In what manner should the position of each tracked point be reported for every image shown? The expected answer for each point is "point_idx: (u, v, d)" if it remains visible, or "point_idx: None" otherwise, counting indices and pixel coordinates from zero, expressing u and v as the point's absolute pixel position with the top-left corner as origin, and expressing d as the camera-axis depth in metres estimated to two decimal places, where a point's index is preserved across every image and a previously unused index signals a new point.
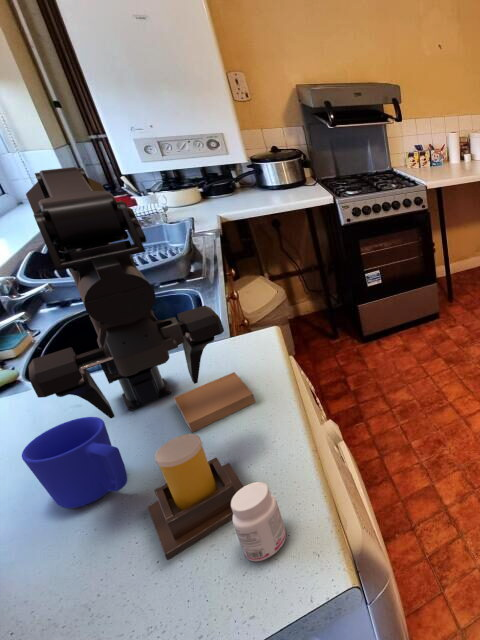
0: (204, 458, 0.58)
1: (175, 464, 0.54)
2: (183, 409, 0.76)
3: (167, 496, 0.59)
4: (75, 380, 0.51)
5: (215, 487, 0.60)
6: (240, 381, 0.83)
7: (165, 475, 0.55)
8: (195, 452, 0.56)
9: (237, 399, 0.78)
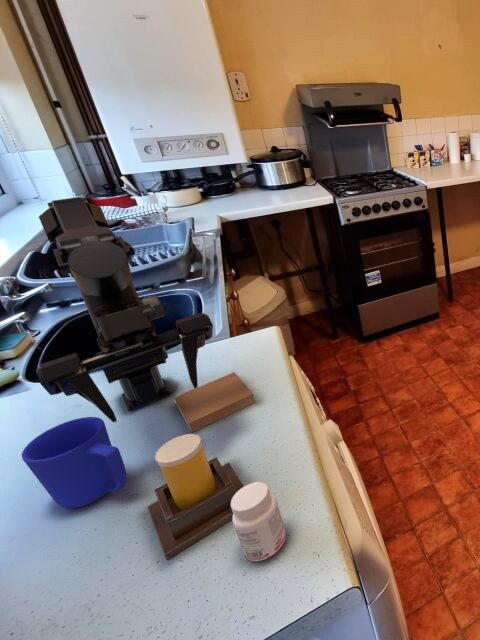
0: (204, 458, 0.58)
1: (175, 464, 0.54)
2: (183, 409, 0.76)
3: (167, 496, 0.59)
4: (73, 366, 0.56)
5: (215, 487, 0.60)
6: (240, 381, 0.83)
7: (165, 475, 0.55)
8: (195, 452, 0.56)
9: (237, 399, 0.78)
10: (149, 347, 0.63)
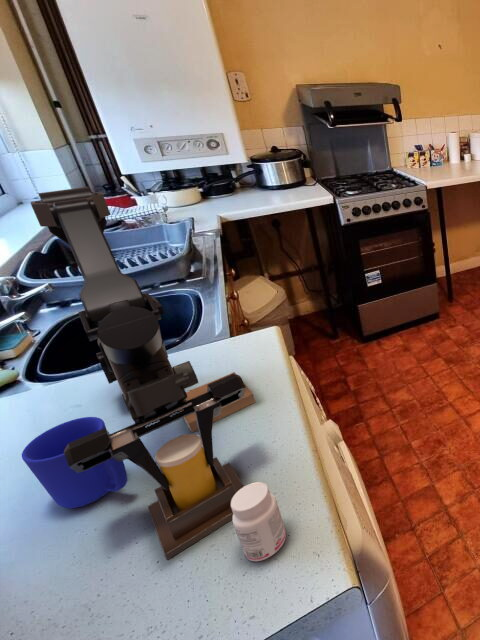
0: (204, 458, 0.58)
1: (175, 464, 0.54)
2: None
3: (167, 496, 0.59)
4: (103, 443, 0.52)
5: (215, 487, 0.60)
6: None
7: (165, 475, 0.55)
8: (195, 452, 0.56)
9: None
10: (161, 423, 0.58)
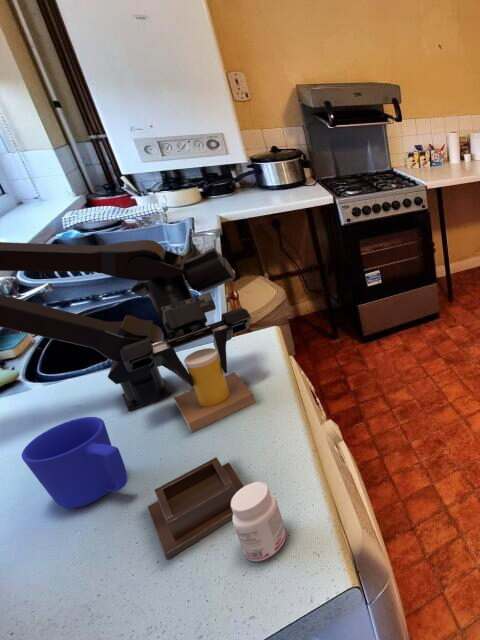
0: (219, 366, 0.77)
1: (199, 366, 0.74)
2: (183, 409, 0.76)
3: (167, 496, 0.59)
4: (147, 348, 0.71)
5: (227, 390, 0.79)
6: (240, 381, 0.83)
7: (191, 375, 0.75)
8: (213, 359, 0.75)
9: (237, 399, 0.78)
10: (188, 339, 0.77)
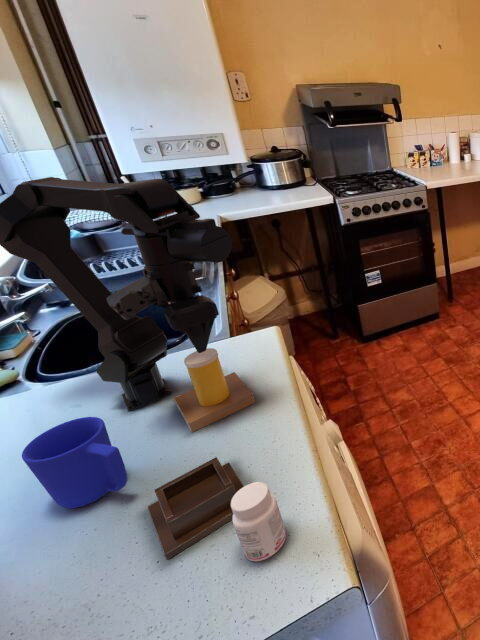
0: (219, 366, 0.77)
1: (199, 366, 0.74)
2: (183, 409, 0.76)
3: (167, 496, 0.59)
4: None
5: (227, 390, 0.79)
6: (240, 381, 0.83)
7: (191, 375, 0.75)
8: (213, 359, 0.75)
9: (237, 399, 0.78)
10: None
